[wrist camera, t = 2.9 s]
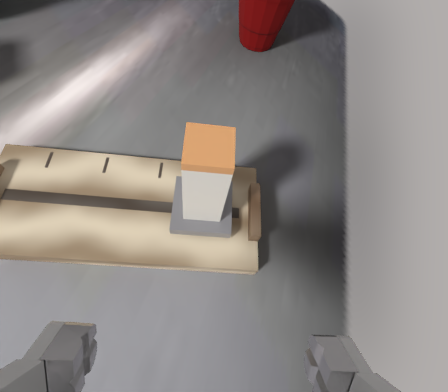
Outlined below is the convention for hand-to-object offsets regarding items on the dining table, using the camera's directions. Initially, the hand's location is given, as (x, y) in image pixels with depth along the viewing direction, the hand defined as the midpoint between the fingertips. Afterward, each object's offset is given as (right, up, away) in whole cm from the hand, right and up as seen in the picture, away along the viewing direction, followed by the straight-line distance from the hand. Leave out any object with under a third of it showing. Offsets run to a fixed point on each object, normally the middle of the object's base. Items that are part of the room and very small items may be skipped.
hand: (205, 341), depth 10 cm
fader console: (-10, +4, +20) cm, 23 cm away
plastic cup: (+6, +32, +36) cm, 49 cm away
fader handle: (-2, +4, +19) cm, 19 cm away
